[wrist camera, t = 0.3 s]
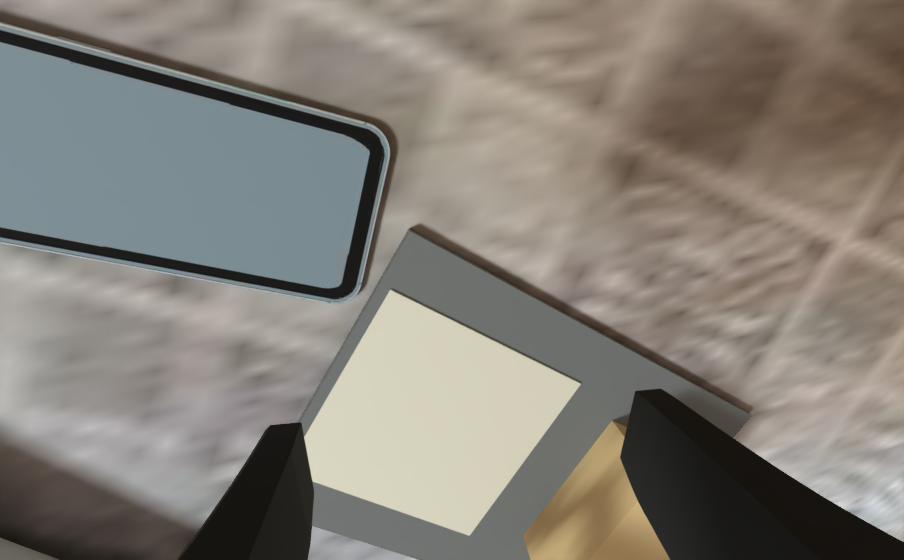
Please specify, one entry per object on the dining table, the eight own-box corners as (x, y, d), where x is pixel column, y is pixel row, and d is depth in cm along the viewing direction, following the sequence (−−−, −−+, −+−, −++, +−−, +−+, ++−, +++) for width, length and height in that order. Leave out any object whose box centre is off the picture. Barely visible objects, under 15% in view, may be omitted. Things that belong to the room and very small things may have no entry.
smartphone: (355, 309, 20) (-82, 229, 16) (356, 301, 21) (-62, 223, 17) (396, 129, 18) (-102, -7, 14) (395, 127, 18) (-77, -2, 15)
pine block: (588, 559, 27) (622, 633, 23) (522, 535, 25) (547, 610, 22) (678, 451, 25) (730, 513, 21) (612, 420, 23) (655, 480, 20)
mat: (580, 605, 28) (584, 613, 28) (253, 499, 23) (250, 508, 22) (746, 411, 25) (753, 416, 24) (409, 228, 19) (409, 231, 19)
